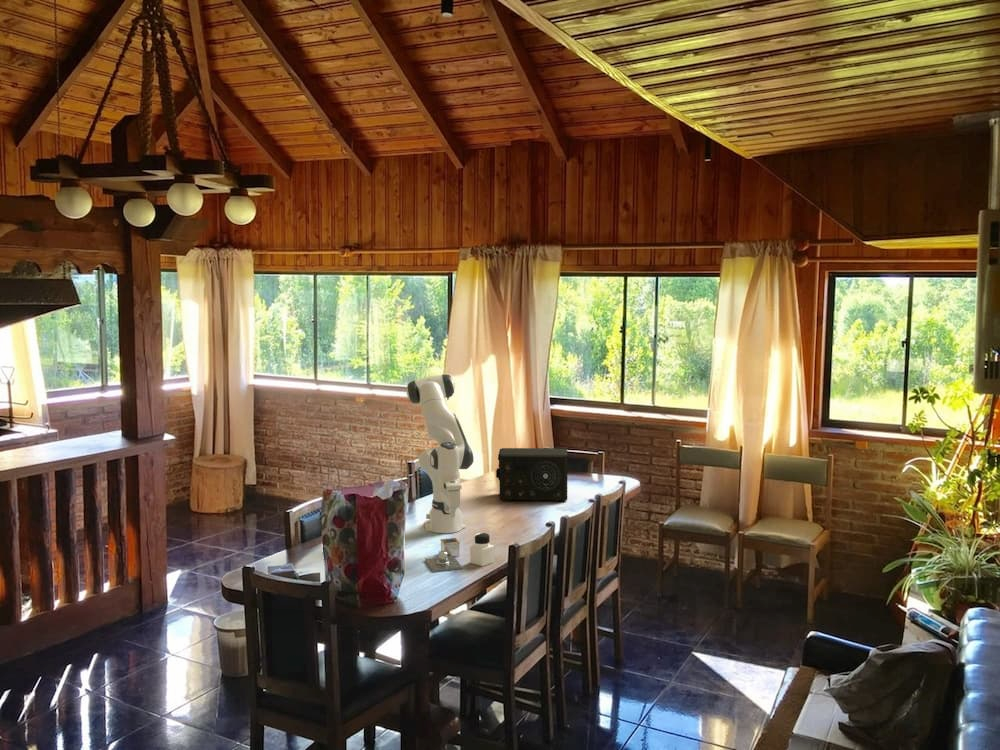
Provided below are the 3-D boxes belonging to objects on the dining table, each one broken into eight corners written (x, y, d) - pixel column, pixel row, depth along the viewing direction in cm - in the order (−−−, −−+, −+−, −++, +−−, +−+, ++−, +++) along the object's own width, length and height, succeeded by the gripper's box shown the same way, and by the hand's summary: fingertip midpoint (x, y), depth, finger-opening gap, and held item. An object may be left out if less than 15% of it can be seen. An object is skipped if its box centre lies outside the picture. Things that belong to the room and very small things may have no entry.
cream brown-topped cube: (440, 552, 369) (440, 539, 369) (455, 551, 371) (455, 537, 371) (444, 557, 363) (444, 543, 362) (459, 556, 365) (459, 542, 364)
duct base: (424, 561, 359) (424, 548, 358) (453, 558, 362) (453, 545, 362) (432, 572, 346) (432, 559, 345) (461, 568, 349) (461, 555, 349)
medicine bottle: (494, 562, 357) (494, 533, 356) (482, 566, 352) (482, 537, 351) (481, 558, 362) (481, 530, 361) (469, 562, 357) (469, 534, 355)
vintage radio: (495, 503, 450) (495, 455, 447) (497, 493, 469) (497, 447, 466) (568, 503, 448) (568, 455, 445) (567, 494, 467) (567, 448, 464)
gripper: (436, 477, 372) (436, 508, 374) (447, 487, 353) (448, 520, 354) (450, 475, 374) (450, 507, 376) (462, 486, 355) (463, 519, 356)
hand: (449, 514), depth 365 cm, fingers open, 8 cm apart
